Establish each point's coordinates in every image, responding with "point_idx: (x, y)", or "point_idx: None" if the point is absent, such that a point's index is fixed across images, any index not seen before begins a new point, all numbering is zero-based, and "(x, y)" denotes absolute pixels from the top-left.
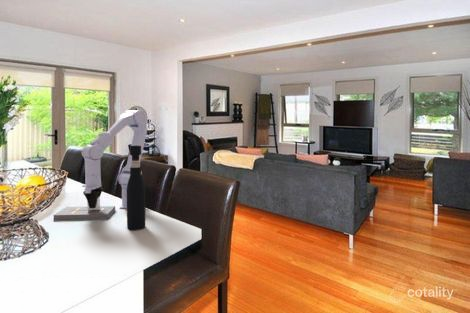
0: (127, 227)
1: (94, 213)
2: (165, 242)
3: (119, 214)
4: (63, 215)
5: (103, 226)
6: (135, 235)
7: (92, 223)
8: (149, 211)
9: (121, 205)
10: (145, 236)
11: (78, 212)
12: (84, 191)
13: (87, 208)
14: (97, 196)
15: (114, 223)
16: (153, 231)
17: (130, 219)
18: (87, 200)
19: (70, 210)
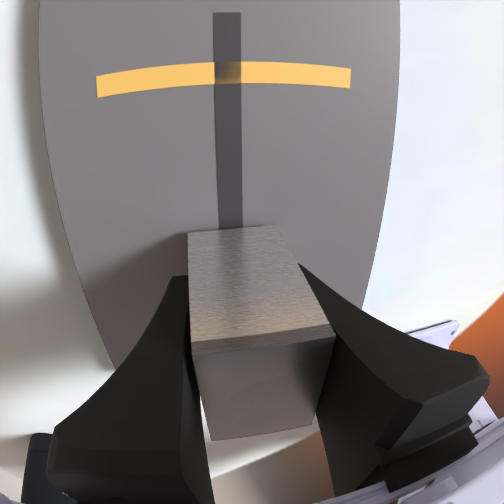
0: (35, 437)
1: (119, 315)
2: (9, 471)
3: None
4: (40, 33)
5: (13, 369)
6: (4, 443)
7: (24, 311)
8: (282, 446)
9: (416, 337)
10: (13, 455)
11: (134, 145)
12: (105, 480)
13: (314, 177)
14: (272, 424)
15: (68, 399)
16: None
17: (24, 472)
18: (135, 346)
19: (236, 7)
